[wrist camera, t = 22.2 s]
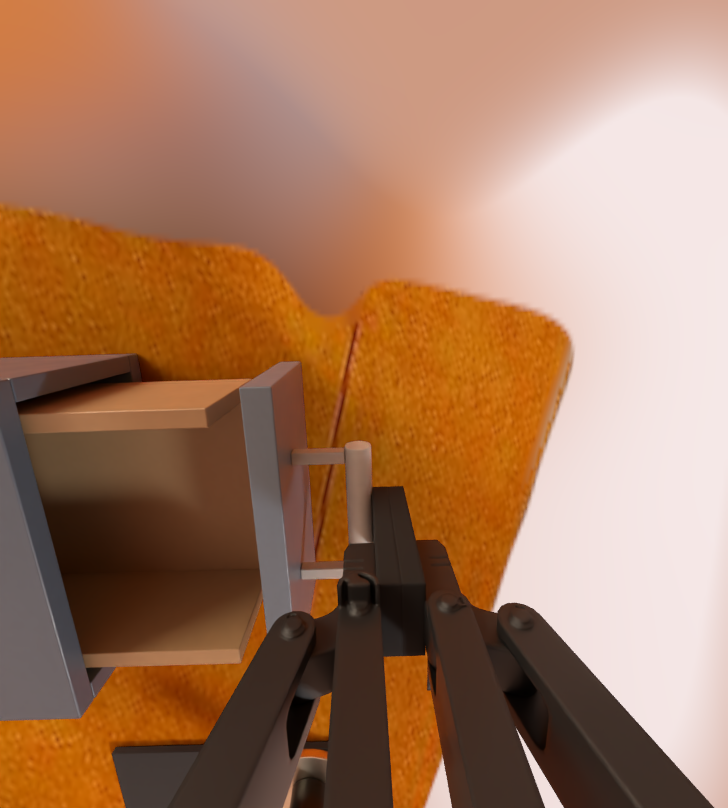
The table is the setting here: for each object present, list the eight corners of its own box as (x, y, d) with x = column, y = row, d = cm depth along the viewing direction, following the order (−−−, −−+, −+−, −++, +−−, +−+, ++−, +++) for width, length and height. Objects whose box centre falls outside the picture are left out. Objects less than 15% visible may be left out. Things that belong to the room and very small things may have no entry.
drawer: (367, 359, 20) (370, 383, 14) (373, 574, 24) (378, 679, 17) (-41, 371, 20) (-237, 402, 14) (22, 584, 24) (-111, 692, 17)
